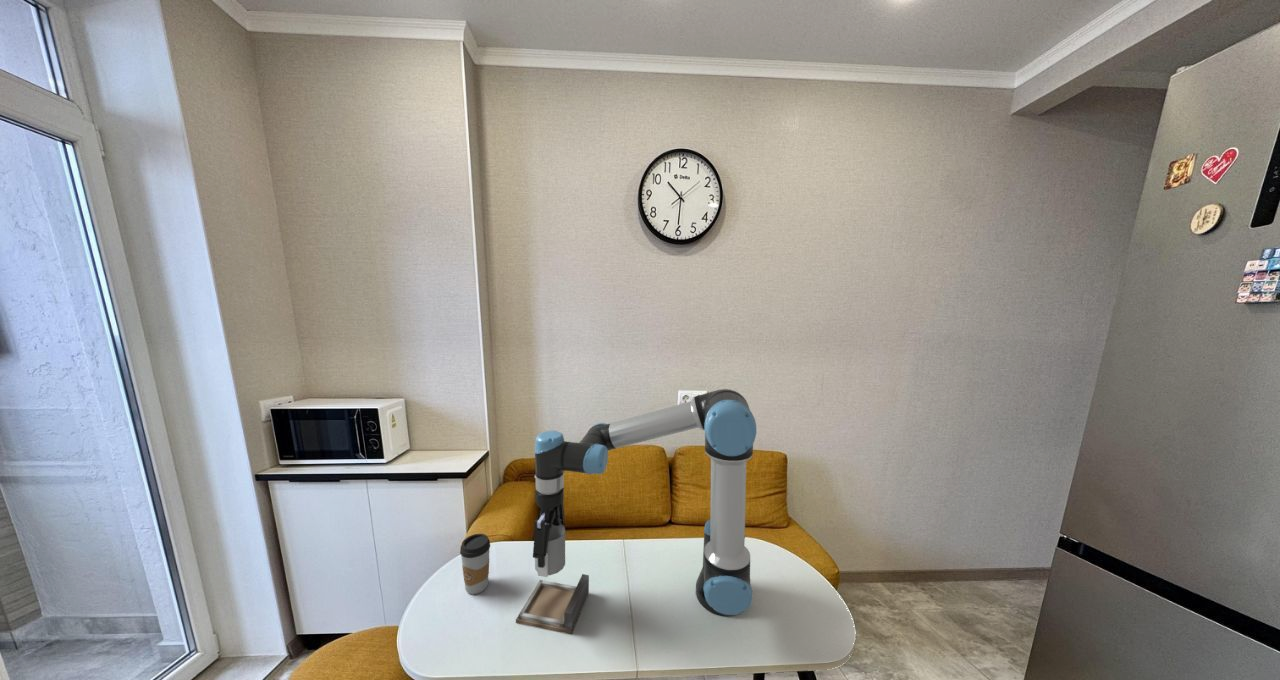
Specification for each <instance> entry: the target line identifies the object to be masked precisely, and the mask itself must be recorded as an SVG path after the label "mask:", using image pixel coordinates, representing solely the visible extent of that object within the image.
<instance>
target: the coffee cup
mask: <svg viewBox="0 0 1280 680" xmlns="http://www.w3.org/2000/svg"><path fill="white" fill-rule="evenodd" d="M490 548H491V542H490V539H489V537H488V535H487V534H485V533H474V534H472V535H469V536H467V537H466V538H465V539H463V541H462V542H461V545H460V550H459V553H460V555H461V563H462V564H461V566H462V574H463V582H464V589H465V591H466V593H467V594H469V595H477V594H479V593H482V592H483V591H484V590H486V588H487V587H488V584H489V574H490Z"/></svg>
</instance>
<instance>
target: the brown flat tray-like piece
mask: <svg viewBox="0 0 1280 680" xmlns="http://www.w3.org/2000/svg"><path fill="white" fill-rule="evenodd" d="M589 593H590V575H589V574H584V573H582V574H581V577H580V579H579V581H578V583H577V585H571V584H565V583H559V582H555V581H554V582H553V581H547V580H542V579H539V581H538V583H537V584H536V586H535V588H534V589H533V590H532V592H531V594H530V595H529V597H528V599H527V600H526V602H525V603H524V605H523V607H522V608H521V610H520V612H519V613H518V615H517V617H516V619H515V624H519V625H523V626H530V627H534V628H538V629H543V630H548V631H553V632H558V633H563V634H567V635H568V634H569V635H572V634H573V631H574V630H575V626H576V625H577V623H578V620H579V617H580V615H581V613H582V610H583V608H584V607H585V603H586V601H587V599H588V597H589Z"/></svg>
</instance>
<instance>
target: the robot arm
mask: <svg viewBox="0 0 1280 680" xmlns="http://www.w3.org/2000/svg"><path fill="white" fill-rule="evenodd" d="M697 428H699V430H700V429H701V430H702V431H704V452H705V454H706V455H707V456H708V457H709V458H710V515H709V516H710V519H708V520H707V521H706V522H705V524H704V529H703V555H702V568H701V570H700V572H699V575H698V577H697V580H696V582H695V596H696V598H697V601H698V602H699V604H700V605H701V606H702V607H703V608H705V610H707V611H709V612H711V613H712V614H715V615H718V616H722V617H730V616H731V617H732V616H736V615H739V614H742V613H743V612H747V610H748V609H749V608H750V606H751V605H752V601H753V589H752V585H751V552H750V551H749V549H748V548H747V547H746V546H745V545H746V544H745V541H746V533H745V532H746V531H745V530H746V496H747V495H746V492H747V487H746V486H747V483H746V482H747V461H749V460H750V459H751V458H752V457H753V456H754V444H755V443H754V442H755V441H756V438H757V437H756V436H757V423H756V419H755V417H754V415H753V412H752V411H751V410H750V406H749V403H748V402H747V400H746V398H745V397H744V396H743V395H742V394H741V393H739V392H737V391H735V390H732V389H727V388H723V389H718V390H712V391H709V392H706V393H702V394H698V395H695V396H693V398H692V399H691V401H688V402H684V403H679V404H676V405H673V406H670V407H664V408H662V409H659V410H658V409H657V410H655V411H651V412H647V413H643V414H640V415H636V416H633V417H629V418H626V419H622V420H617V421H614V422H611V423H605V422H598V423H596V424H593V425H592V427H590V428H589V430H588V431H587V432H586V434H585V435H584V436H583V438H582V439H581V440H580V441H579V442H576V441H575V442H572V441H566V440H565V438H564V435H563V433H562V432H561V431H560V432H559V431H557V430H548V431H543V432H540V433H539V434H538V435H537V436H536V438H535V441H534V442H535V443H534V463H535V465H534V467H535V471H534V472H535V475H534V479H535V504H536V506H537V507H538V508H540V512H539V519H535V520H534V523H533V524H534V537H533V546H532V547H533V550H532V558H533V559H535V558H538V572H537V576H538V577H542V578H543V577H545V578H548V577H549V575H548V553H546V552H547V546H548V540H549V534H550V528H552V526H553V525H555V526H559V524H562V525H563V526H565V524H566V520H565V518H566V517H565V510H564V499H565V498H564V495H565V494H564V492H565V491H564V485H565V483H564V482H565V481H564V480H565V479H564V476H565V475H564V474H565V473H564V472H573V473H581V474H587V475H593V474H595V475H600V474H601V475H602V474H603V473H605V471H606V469H607V465H608V461H609V460H608V459H609V451H612V450H615V449H619V448H622V447H623V448H624V447H627V446H631V445H634V444H638V443H642V442H647V441H651V440H655V439H659V438H661V437H662V438H663V437H667V436H669V435H670V436H671V435H674V434H679V433H681V432H686V431H690V430H694V429H697ZM546 523H549V525H548V524H546Z"/></svg>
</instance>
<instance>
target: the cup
mask: <svg viewBox="0 0 1280 680" xmlns="http://www.w3.org/2000/svg"><path fill="white" fill-rule="evenodd" d="M546 524H548V525H549V523H546ZM546 553H548V576H553V575H555V574H559V572H561V571H562V570H563V569H564V568H565V566H566V527H565V525H562V524H559V526H555V525H553V526H552V528H550V534H549V540H548V546H547V552H546ZM534 569H535V571H536V573H538V558H534Z"/></svg>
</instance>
